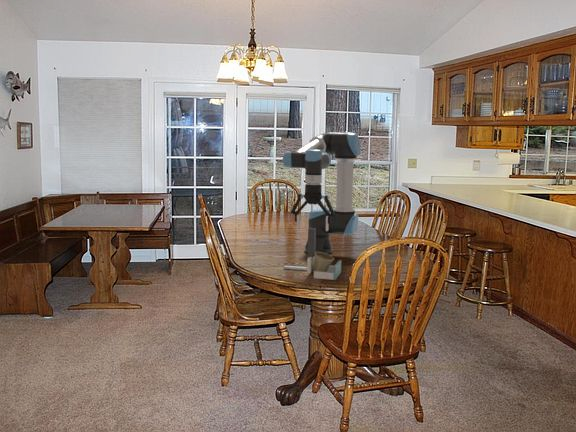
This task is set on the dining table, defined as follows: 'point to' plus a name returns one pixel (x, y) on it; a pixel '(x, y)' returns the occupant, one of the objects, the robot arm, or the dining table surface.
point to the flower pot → (322, 261)
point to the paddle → (311, 249)
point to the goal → (329, 272)
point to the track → (295, 268)
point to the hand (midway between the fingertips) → (312, 229)
